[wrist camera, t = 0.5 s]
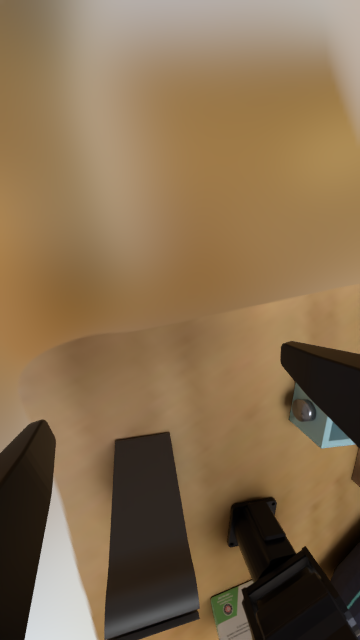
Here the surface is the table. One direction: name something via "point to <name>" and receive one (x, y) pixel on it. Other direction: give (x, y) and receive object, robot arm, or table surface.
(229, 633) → the ink box
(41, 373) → the table surface
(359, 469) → the walnut stand
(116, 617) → the phone stand
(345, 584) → the portable speaker
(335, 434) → the box
